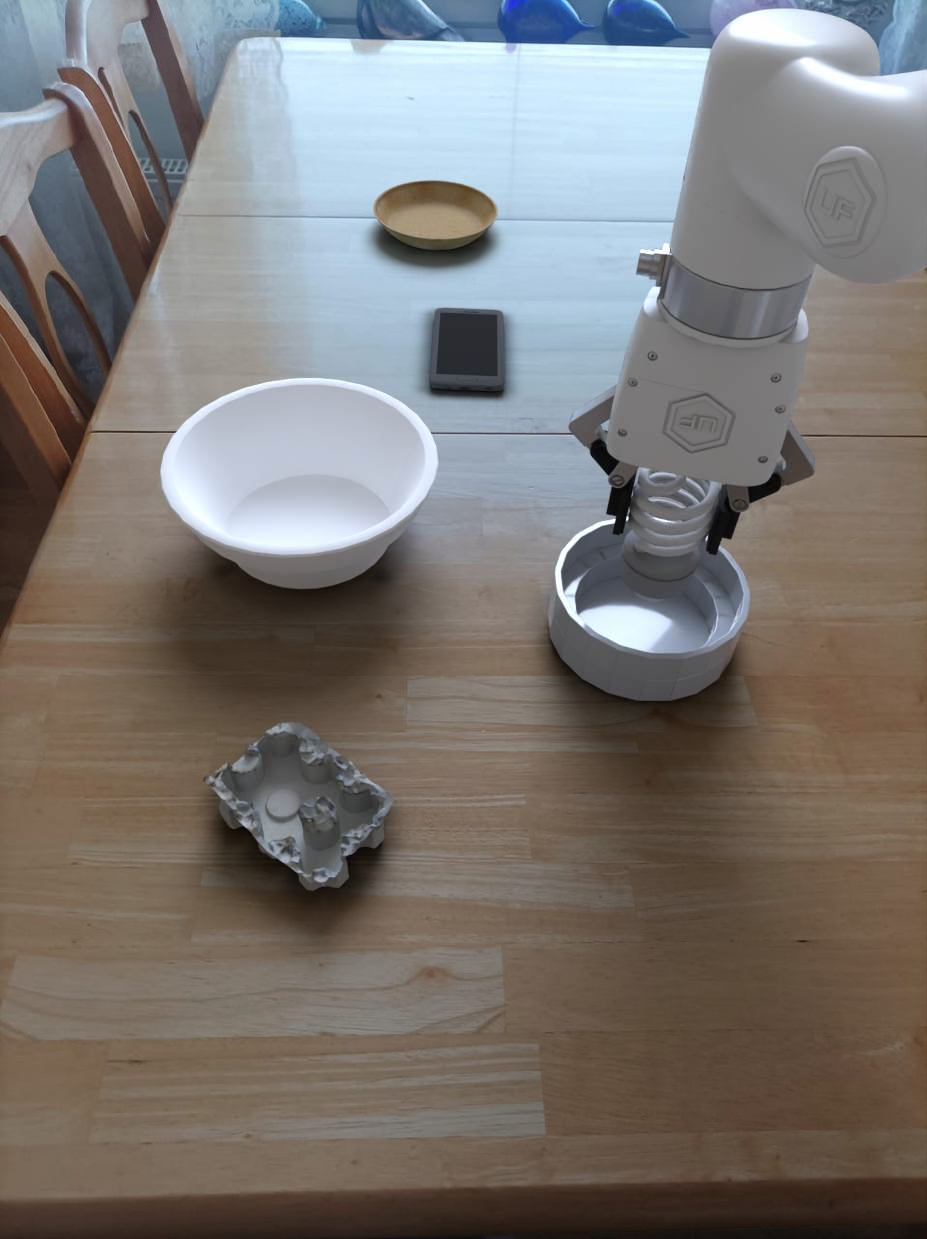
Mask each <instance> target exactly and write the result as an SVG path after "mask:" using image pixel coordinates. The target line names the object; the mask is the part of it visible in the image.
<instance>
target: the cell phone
mask: <svg viewBox="0 0 927 1239" xmlns="http://www.w3.org/2000/svg"><path fill="white" fill-rule="evenodd" d="M504 323H505V321H504V313H503V311H502V310H499V309H491V308H489V309H488V308H466V307H465V308H462V307H438V308H436V309H435V310H434V315H433V329H432V343H431V344H432V345H431V356H430V357H431V358H430V371H429V384H430V387H431V388H432V389H437V390H454V391H459V390H460V391H479V392H480V391H484V392H500V391H503V390H504V388H505V382H506V381H505V380H506V379H505V378H506V377H505V376H506V375H505V374H506V373H505V326H504V325H505V324H504Z"/></svg>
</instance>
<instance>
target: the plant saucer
mask: <svg viewBox="0 0 927 1239" xmlns="http://www.w3.org/2000/svg"><path fill="white" fill-rule="evenodd" d="M372 208H373V214H374V217H375V218H376V219H377V220H378V222H379V224H380V225H381V226H382V227H383V228H384V229H385V230H386V231H387V232H388V233H389V234H390V235H391V236H393V237H394V238H395V239H397V241H400V242H402V243H403V244H405V245H407V246H410V247H413V248H417V249H420V250H421V249H422V250H427V251H448V250H454V249H458V248H461V247H462V248H463V247H464V246H467V245H469V244H471V243H472V242H474V241H476V240H477V239H478V238H480V237H481V236H482V235H483V234H484V233H485V232H487V231H488V230H489V229H490V228H491V227H492V225H494V223H495V221H496V220H497V218H498V215H499V211H498V210H499V209H498V206H497V204H496V202H495V200H494V199H493V198H492V197H490V196H489V195H488V194H486V193H485V192H483V191H482V190H480V189H477V187H473V186H470V185H467V184H464V183H460V182H456V181H448V180H436V179H425V180H414V181H408V182H403V183H400V184H396V185H395V186H392V187H389V188H387V189H386V190H384V191H383V192H381V193H380V194H379V195H378V196H377V197H376V198H375V200H374V202H373V207H372Z"/></svg>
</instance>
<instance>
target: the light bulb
mask: <svg viewBox="0 0 927 1239" xmlns="http://www.w3.org/2000/svg"><path fill="white" fill-rule="evenodd" d="M720 489H721V487H720V483H718V482H713V481H708V480H703V479H697V478H692V477H687V476H682V475H677V474H672V473H667V472H662V471H657V470H652V469H647V468H642V469H641V470H640V471H639V473H638V476H637V481H636V482H635V484H634V488H633V492H632V497H631V501H630V505H629V511H628V514H627V517H628V522H629V525H630V527H631V529H632V530H631V531H630V532H629V533H628V534H627V535H626V537H625V540H624V543H623V545H622V550H621V560H620V573H621V577H622V579H623V580H624V582H625V584H626V585H627V586H628V587H629V588H630V589H632V590H633V591H634V592H635V593H636V595H637V596H638V597H639V598H641V599H642V600H644V601H647V602H659V601H661V600H663V599H668V598H671V597H674V596H677V595H679V594H681V593H682V592H683V591H684V590H685V589H686V588H687V587H688V585H689V584H690V581H691V579H692V577H693V575H694V572H695V570H696V568H697V566H698V562H699V555H700V553H699V548H698V547H699V546H700V545H701V544H702V543H703V542H704V541H705V539H706V537H707V536H708V532H709V530H710V529H711V527H712V525H713V522H714V516H715V513H716V510H717V506H718V497H719V493H720ZM683 490H685V491H683ZM659 498H665V499H659ZM666 499H671V500H673V501H671V500H666ZM675 501H676V502H678V503H680V504H682V505H680V504H678V503H676V502H675ZM683 506H685V507H683ZM652 517H654V518H659V519H663V520H667V521H672V522H663V521H660V520H656V519H654V518H652ZM673 522H676V523H673Z"/></svg>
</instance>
